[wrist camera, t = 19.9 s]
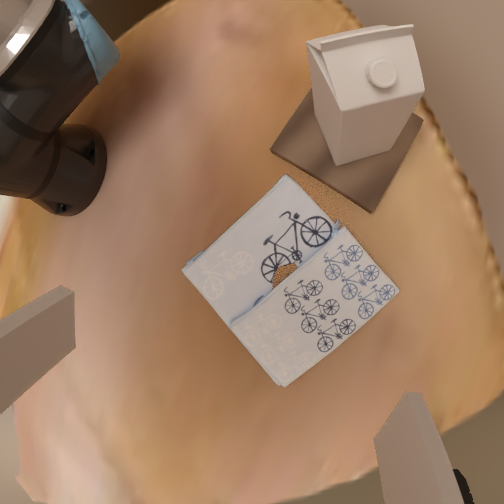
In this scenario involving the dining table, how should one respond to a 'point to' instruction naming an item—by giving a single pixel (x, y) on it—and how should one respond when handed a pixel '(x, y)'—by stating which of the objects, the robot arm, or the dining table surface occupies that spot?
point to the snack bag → (290, 282)
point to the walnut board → (346, 175)
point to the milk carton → (364, 88)
